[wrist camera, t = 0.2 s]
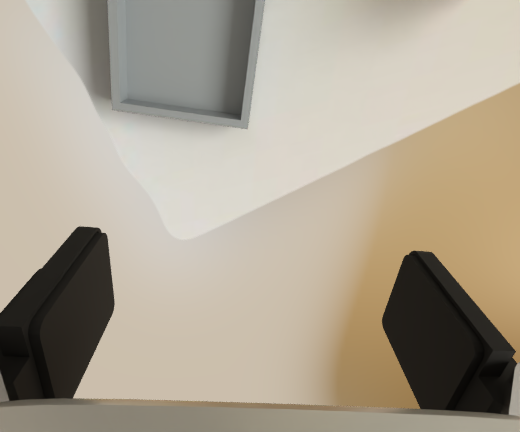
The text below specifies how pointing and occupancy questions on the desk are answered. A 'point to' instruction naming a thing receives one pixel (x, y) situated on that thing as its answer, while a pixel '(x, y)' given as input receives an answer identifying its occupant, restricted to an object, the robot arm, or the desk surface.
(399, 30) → the desk surface
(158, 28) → the tray
